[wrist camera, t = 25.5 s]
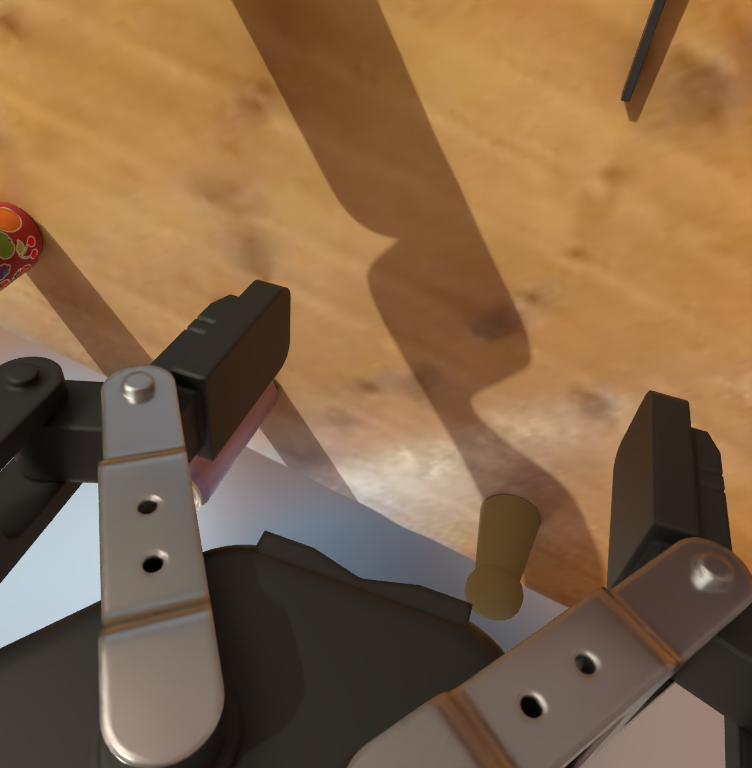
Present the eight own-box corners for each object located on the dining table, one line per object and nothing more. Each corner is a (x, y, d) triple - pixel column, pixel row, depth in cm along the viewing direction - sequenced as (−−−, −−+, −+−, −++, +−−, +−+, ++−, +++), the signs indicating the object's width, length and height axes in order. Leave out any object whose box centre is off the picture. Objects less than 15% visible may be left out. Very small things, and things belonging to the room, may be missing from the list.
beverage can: (265, 357, 61) (181, 465, 50) (288, 405, 64) (214, 517, 53) (216, 361, 64) (126, 465, 53) (241, 407, 67) (160, 514, 56)
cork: (480, 489, 63) (456, 581, 55) (543, 501, 61) (527, 597, 53) (479, 529, 67) (456, 620, 59) (538, 540, 65) (522, 637, 57)
